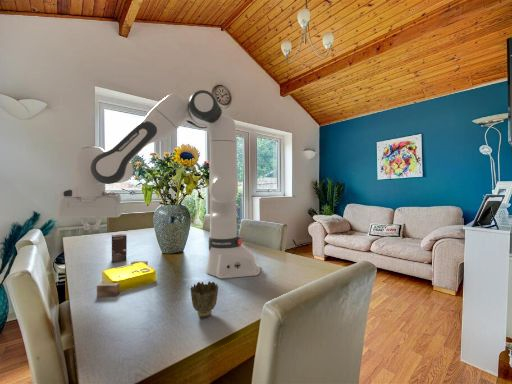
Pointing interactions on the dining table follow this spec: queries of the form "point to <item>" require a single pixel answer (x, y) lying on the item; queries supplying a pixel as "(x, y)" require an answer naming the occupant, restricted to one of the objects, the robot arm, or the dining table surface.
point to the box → (119, 247)
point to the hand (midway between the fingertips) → (91, 229)
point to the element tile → (130, 275)
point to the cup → (204, 298)
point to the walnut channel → (111, 286)
